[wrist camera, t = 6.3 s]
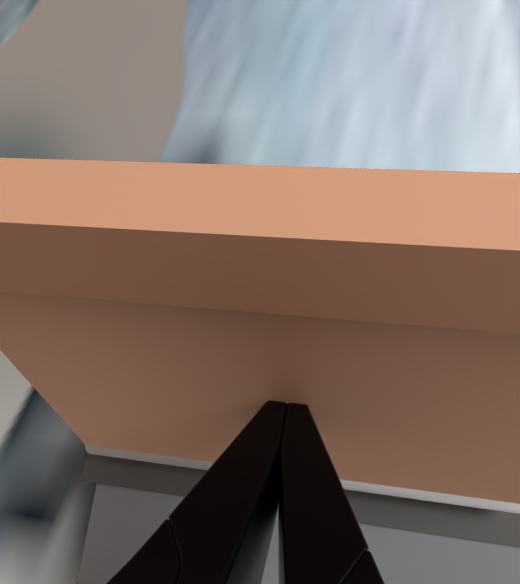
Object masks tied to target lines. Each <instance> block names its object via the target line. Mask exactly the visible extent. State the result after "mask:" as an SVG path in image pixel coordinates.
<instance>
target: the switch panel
mask: <svg viewBox="0 0 520 584" xmlns="http://www.w3.org/2000/svg"><path fill="white" fill-rule="evenodd" d="M206 472H207V470H202V469H195V468H187V467H180V466H173V465H166V464H159V463H152V462H144V461H137V460H130V459H123V458H116V457H109V456H101V455H94V454H89V453H88V452H87V453H86V458H85V462H84V467H83V472H82V476H81V481H84V482H91V483H97V484H96V489H95V494H94V499H93V504H92V509H91V514H90V519H89V524H88V529H87V534H86V538H85V543H84V548H83V553H82V558H81V563H80V568H79V573H78V578H77V583H76V584H106V583H107V582H108V581H109V580H110V579H111V578H112V577H113V576H114V575H115V574H116V573H117V572H118V571H119V570H120V569H121V568H122V567H123V566H124V565H125V564H126V563H127V562H128V561H129V560H130V559H131V558H132V557H133V556H134V555H135V553H136V552H137V551H138V550H139V549H140V548H141V547H142V546H143V545H144V544H145V542H146V541H147V540H148V539H149V538H150V537H151V536H152V535H153V533H154V532H155V531H156V530H157V529H158V527H159V526H160V525H161V524H162V523H163V522H164V520H166V519H168V520H169V518H168V517H169V515H170V514H171V513H172V511H173V510H174V509H175V508H176V507H177V506H178V504H179V503H180V502H181V501H182V500H183V499H184V497H185V496H186V495H187V494H188V493H189V492H190V490H191V489H192V488H193V487H194V486H195V484H196V483H197V482H198V481H199V480H200V479H201V477H202V476H203V475H204V474H205V473H206ZM344 491H345V493H346V496H347V498H348V500H349V503H350V505H351V507H352V510H353V512H354V514H355V517H356V519H357V521H358V524H359V526H360V528H361V531H362V533H363V535H364V538H365V540H366V542H367V545H368V547H369V549H368V551H370V552H371V553H372V556H373V558H374V560H375V563H376V565H377V567H378V570H379V572H380V574H381V576H382V579H383V581H384V583H385V584H520V513H510V512H503V511H496V510H489V509H482V508H475V507H467V506H460V505H453V504H446V503H439V502H431V501H424V500H417V499H410V498H403V497H396V496H388V495H381V494H374V493H367V492H360V491H353V490H345V489H344ZM278 510H279V504H278ZM261 584H279V564H278V511H277V516H276V521H275V525H274V530H273V534H272V538H271V543H270V547H269V551H268V556H267V560H266V564H265V569H264V573H263V577H262V582H261Z"/></svg>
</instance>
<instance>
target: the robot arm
mask: <svg viewBox="0 0 520 584" xmlns="http://www.w3.org/2000/svg"><path fill="white" fill-rule="evenodd" d="M278 504H279V510H278ZM277 511H278V564H279V584H385V583H384V581H383V579H382V576H381V574H380V572H379V570H378V567H377V565H376V563H375V560H374V558H373V556H372V553H371V552H370V551H368V549H369V547H368V545H367V542H366V540H365V538H364V535H363V533H362V531H361V528H360V526H359V524H358V521H357V519H356V517H355V514H354V512H353V510H352V507H351V505H350V503H349V500H348V498H347V496H346V493H345V491H344V489H343V486H342V484H341V482H340V479H339V477H338V475H337V472H336V470H335V468H334V465H333V463H332V461H331V458H330V456H329V454H328V451H327V449H326V447H325V444H324V442H323V440H322V437H321V435H320V433H319V430H318V428H317V426H316V423H315V421H314V419H313V416H312V414H311V412H310V409H309V407H308V405H306V404H298V403H288V405H287V404H286V403H285V402H280V401H271V400H268V401H267V402H266V403H265V404H264V405H263V406H262V407H261V408H260V410H259V411H258V412H257V413H256V414H255V415H254V417H253V418H252V419H251V420H250V421H249V422H248V424H247V425H246V426H245V427H244V428H243V430H242V431H241V432H240V433H239V434H238V435H237V437H236V438H235V439H234V440H233V441H232V442H231V444H230V445H229V446H228V447H227V448H226V449H225V451H224V452H223V453H222V454H221V455H220V456H219V458H218V459H217V460H216V461H215V462H214V463H213V465H212V466H211V467H210V468H209V469H208V470H207V472H206V473H205V474H204V475H203V476H202V477H201V479H200V480H199V481H198V482H197V483H196V484H195V486H194V487H193V488H192V489H191V490H190V492H189V493H188V494H187V495H186V496H185V497H184V499H183V500H182V501H181V502H180V503H179V504H178V506H177V507H176V508H175V509H174V510H173V511H172V513H171V514H170V515H169V517H168V518H169V520H168V519H166V520H164V522H163V523H162V524H161V525H160V526H159V527H158V529H157V530H156V531H155V532H154V533H153V535H152V536H151V537H150V538H149V539H148V540H147V541H146V542H145V544H144V545H143V546H142V547H141V548H140V549H139V550H138V551H137V552H136V553H135V555H134V556H133V557H132V558H131V559H130V560H129V561H128V562H127V563H126V564H125V565H124V566H123V567H122V568H121V569H120V570H119V571H118V572H117V573H116V574H115V575H114V576H113V577H112V578H111V579H110V580H109V581H108V582H107V583H106V584H261V582H262V577H263V573H264V569H265V564H266V560H267V556H268V551H269V547H270V543H271V538H272V534H273V530H274V525H275V521H276V516H277Z"/></svg>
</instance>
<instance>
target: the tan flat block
mask: <svg viewBox="0 0 520 584" xmlns="http://www.w3.org/2000/svg"><path fill="white" fill-rule="evenodd" d="M0 350H1V351H2V352H3V353H4V354H5V355H6V357H7V358H8V359H9V360H10V361H11V362H12V363H13V364H14V366H15V367H16V368H17V369H18V370H19V371H20V372H21V373H22V375H23V376H24V377H25V378H26V379H27V380H28V381H29V382H30V384H31V385H32V386H33V387H34V388H35V389H36V390H37V391H38V392H39V394H40V395H41V396H42V397H43V398H44V399H45V400H46V401H47V403H48V404H49V405H50V406H51V407H52V408H53V409H54V410H55V412H56V413H57V414H58V415H59V416H60V417H61V418H62V419H63V421H64V422H65V423H66V424H67V425H68V426H69V427H70V428H71V430H72V431H73V432H74V433H75V434H76V435H77V436H78V437H79V439H80V440H81V441H82V442H83V443H84V444H85V448H86V451H87V452H88V453H89V454H94V455H101V456H109V457H116V458H123V459H130V460H137V461H144V462H152V463H159V464H166V465H173V466H180V467H187V468H195V469H202V470H208V469H209V468H210V467H211V466H212V465H213V463H214V462H215V461H216V460H217V459H218V458H219V456H220V455H221V454H222V453H223V452H224V451H225V449H226V448H227V447H228V446H229V445H230V444H231V442H232V441H233V440H234V439H235V438H236V437H237V435H238V434H239V433H240V432H241V431H242V430H243V428H244V427H245V426H246V425H247V424H248V422H249V421H250V420H251V419H252V418H253V417H254V415H255V414H256V413H257V412H258V411H259V410H260V408H261V407H262V406H263V405H264V404H265V403H266V402H267V401H268V400H271V401H280V402H285V403H286V404H287V405H288V403H298V404H306V405H308V407H309V409H310V412H311V414H312V416H313V419H314V421H315V423H316V426H317V428H318V430H319V433H320V435H321V437H322V440H323V442H324V444H325V447H326V449H327V451H328V454H329V456H330V458H331V461H332V463H333V465H334V468H335V470H336V472H337V475H338V477H339V479H340V482H341V484H342V486H343V489H345V490H353V491H360V492H367V493H374V494H381V495H388V496H396V497H403V498H410V499H417V500H424V501H431V502H439V503H446V504H453V505H460V506H467V507H475V508H482V509H489V510H496V511H503V512H510V513H520V173H491V172H457V171H423V170H390V169H356V168H323V167H289V166H256V165H222V164H189V163H155V162H120V161H88V160H86V161H85V160H53V159H19V158H0Z"/></svg>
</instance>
